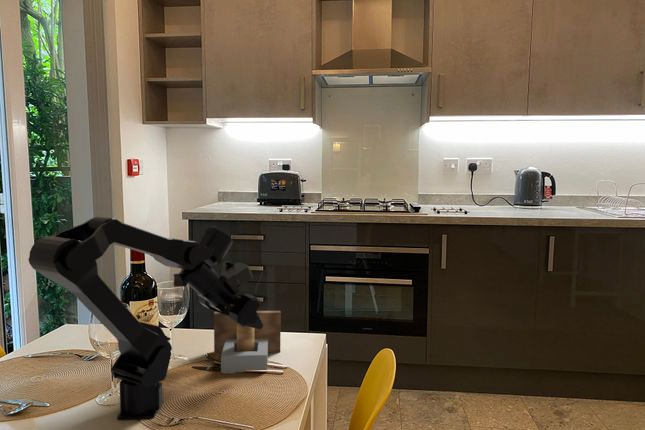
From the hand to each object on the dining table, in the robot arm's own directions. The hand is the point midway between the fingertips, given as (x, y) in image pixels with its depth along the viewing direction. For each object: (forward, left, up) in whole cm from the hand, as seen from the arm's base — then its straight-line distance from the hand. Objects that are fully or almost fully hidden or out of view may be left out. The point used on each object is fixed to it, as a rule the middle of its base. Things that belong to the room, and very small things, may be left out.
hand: (250, 322), depth 107 cm
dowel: (-1, -1, -10) cm, 10 cm away
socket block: (-1, -1, -10) cm, 10 cm away
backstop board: (-1, +6, -10) cm, 12 cm away
